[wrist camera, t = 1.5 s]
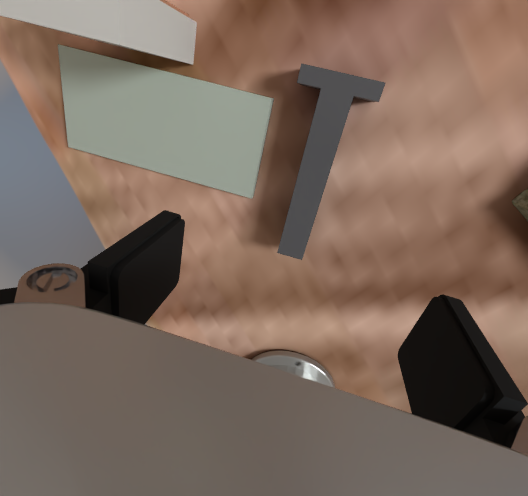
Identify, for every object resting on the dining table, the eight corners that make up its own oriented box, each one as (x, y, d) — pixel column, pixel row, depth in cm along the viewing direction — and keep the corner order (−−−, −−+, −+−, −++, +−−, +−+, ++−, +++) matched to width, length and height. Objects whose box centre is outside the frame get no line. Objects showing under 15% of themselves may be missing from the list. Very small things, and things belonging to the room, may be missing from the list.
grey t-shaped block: (321, 248, 31) (320, 265, 27) (266, 233, 31) (259, 247, 28) (378, 85, 23) (385, 82, 20) (305, 68, 24) (301, 63, 21)
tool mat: (253, 196, 29) (251, 198, 29) (72, 146, 31) (68, 146, 30) (273, 98, 25) (272, 98, 25) (63, 45, 27) (57, 44, 26)
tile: (193, 64, 25) (120, 45, 17) (98, 41, 26) (-21, 10, 17) (197, 17, 24) (119, -32, 15) (95, -6, 24) (-36, -67, 16)
